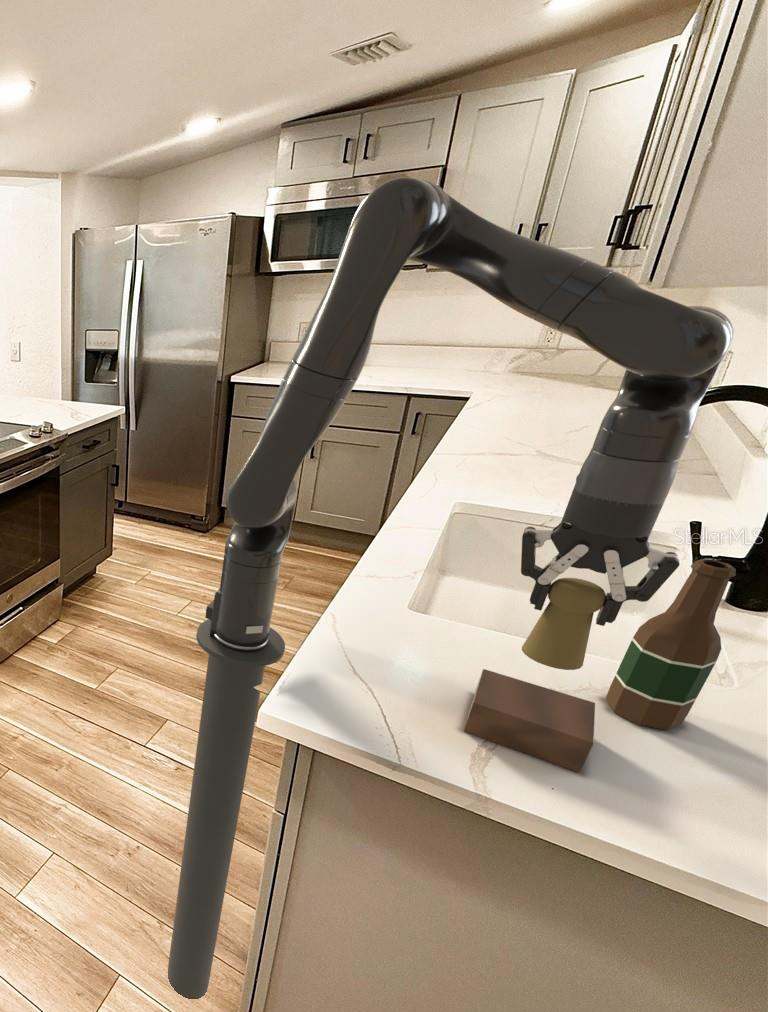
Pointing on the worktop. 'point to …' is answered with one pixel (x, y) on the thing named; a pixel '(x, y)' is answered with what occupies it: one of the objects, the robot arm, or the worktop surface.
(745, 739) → the worktop surface
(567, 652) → the cork
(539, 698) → the walnut block
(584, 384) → the worktop surface
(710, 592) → the beer bottle
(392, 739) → the worktop surface
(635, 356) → the robot arm
